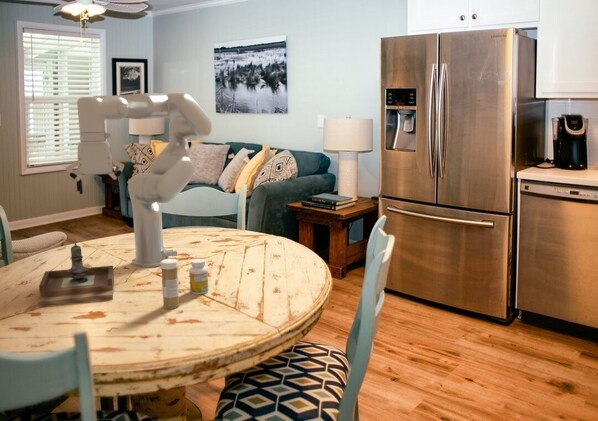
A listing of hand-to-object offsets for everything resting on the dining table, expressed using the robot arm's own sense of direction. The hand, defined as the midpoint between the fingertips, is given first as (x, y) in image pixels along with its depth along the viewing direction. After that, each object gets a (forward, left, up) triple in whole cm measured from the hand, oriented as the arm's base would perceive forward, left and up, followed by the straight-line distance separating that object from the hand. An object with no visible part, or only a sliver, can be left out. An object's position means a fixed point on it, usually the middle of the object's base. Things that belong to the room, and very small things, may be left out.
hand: (97, 192), depth 186 cm
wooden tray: (+7, +12, -28) cm, 32 cm away
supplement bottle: (-28, +22, -28) cm, 46 cm away
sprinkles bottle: (-19, +32, -28) cm, 47 cm away
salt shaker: (+7, +10, -25) cm, 28 cm away
